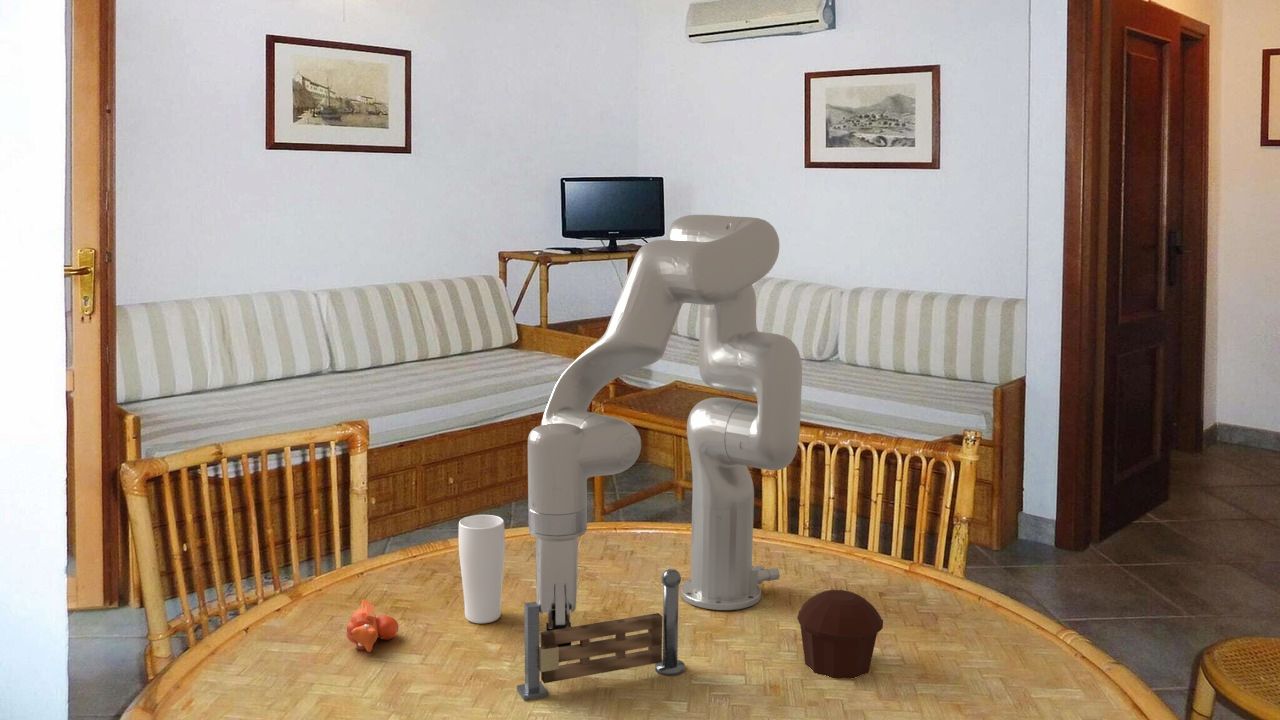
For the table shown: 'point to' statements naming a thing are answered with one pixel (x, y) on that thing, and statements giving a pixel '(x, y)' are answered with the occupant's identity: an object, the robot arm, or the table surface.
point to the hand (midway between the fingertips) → (558, 652)
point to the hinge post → (670, 625)
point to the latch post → (536, 656)
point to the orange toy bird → (370, 627)
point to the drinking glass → (482, 566)
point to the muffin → (839, 633)
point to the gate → (605, 646)
